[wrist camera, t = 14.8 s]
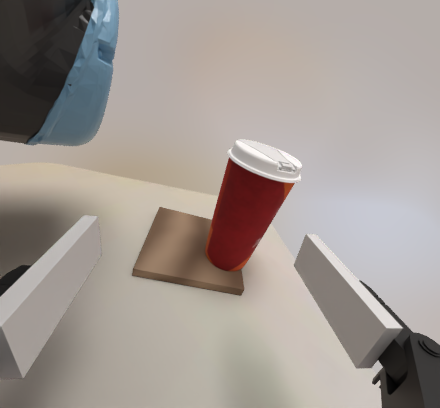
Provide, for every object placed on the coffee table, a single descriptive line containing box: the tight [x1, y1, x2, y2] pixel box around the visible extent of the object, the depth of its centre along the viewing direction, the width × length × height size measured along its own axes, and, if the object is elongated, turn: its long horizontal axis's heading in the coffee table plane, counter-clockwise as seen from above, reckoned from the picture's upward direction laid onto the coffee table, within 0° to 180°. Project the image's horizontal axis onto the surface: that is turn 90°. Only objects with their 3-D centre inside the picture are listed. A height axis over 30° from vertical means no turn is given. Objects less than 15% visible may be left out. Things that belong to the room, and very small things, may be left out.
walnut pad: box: [132, 207, 244, 295], centre depth 27 cm, size 12×12×1 cm
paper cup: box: [205, 139, 302, 271], centre depth 24 cm, size 8×8×14 cm
